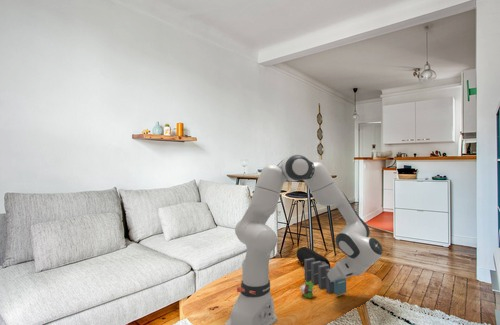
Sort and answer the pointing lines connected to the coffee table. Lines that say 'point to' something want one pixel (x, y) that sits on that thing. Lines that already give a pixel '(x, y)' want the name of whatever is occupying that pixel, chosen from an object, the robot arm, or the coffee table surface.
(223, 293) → the coffee table surface
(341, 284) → the domino
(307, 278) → the domino
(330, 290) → the domino
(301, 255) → the portable speaker
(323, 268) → the domino
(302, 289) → the geometric puzzle
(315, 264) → the domino
